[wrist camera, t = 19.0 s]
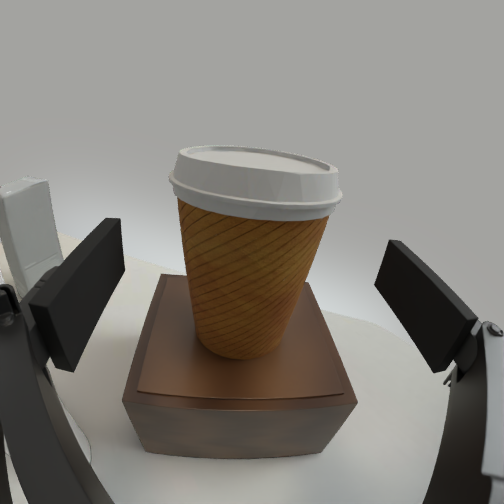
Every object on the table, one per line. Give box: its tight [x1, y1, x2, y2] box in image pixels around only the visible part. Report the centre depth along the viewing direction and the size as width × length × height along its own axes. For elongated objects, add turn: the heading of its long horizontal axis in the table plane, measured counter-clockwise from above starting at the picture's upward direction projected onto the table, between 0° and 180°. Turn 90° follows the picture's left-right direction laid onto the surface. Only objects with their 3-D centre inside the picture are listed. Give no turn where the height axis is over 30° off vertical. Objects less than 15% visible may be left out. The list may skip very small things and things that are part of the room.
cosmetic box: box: [0, 176, 64, 298], centre depth 27 cm, size 8×7×16 cm
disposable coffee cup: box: [169, 146, 343, 360], centre depth 17 cm, size 10×10×12 cm
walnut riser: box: [122, 274, 358, 459], centre depth 22 cm, size 14×14×8 cm
